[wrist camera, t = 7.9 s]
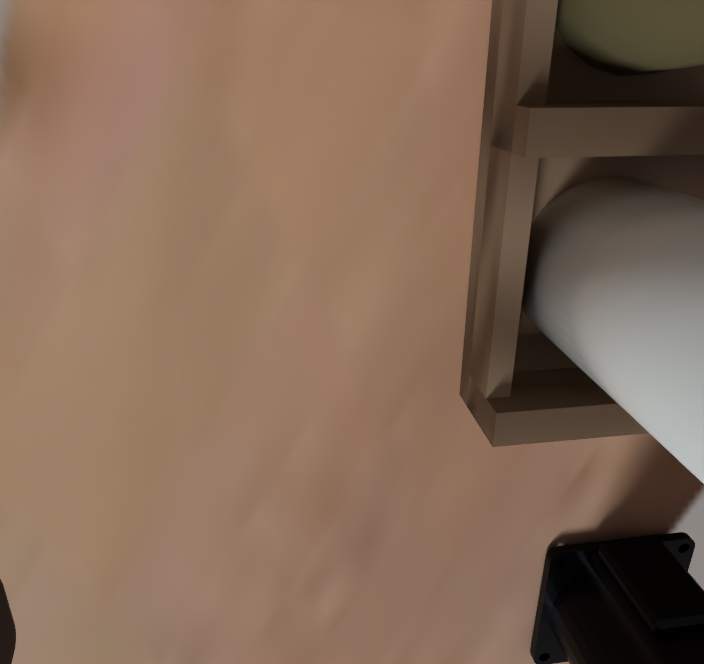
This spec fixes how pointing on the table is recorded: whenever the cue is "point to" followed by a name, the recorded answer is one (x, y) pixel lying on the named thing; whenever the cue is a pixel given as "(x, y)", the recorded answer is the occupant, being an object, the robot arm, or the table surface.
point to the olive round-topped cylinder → (634, 34)
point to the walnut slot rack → (538, 191)
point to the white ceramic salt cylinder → (627, 300)
